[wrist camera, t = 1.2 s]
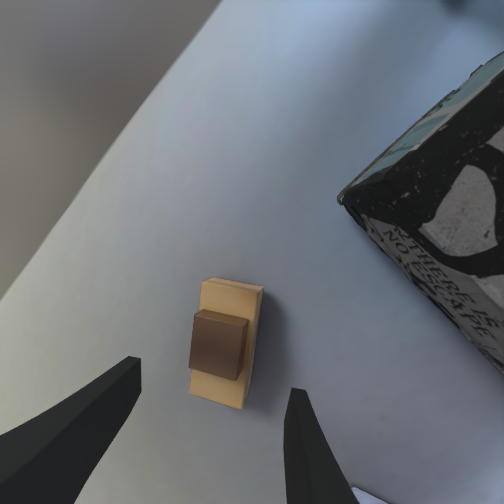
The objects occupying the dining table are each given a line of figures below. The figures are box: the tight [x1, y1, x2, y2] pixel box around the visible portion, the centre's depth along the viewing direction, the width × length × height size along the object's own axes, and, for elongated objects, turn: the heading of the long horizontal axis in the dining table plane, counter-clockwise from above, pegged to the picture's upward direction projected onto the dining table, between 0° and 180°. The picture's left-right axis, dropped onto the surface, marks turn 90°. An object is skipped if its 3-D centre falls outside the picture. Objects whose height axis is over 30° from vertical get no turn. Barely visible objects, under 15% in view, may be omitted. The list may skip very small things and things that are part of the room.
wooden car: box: [189, 277, 263, 410], centre depth 21 cm, size 10×5×5 cm, turn 173°
